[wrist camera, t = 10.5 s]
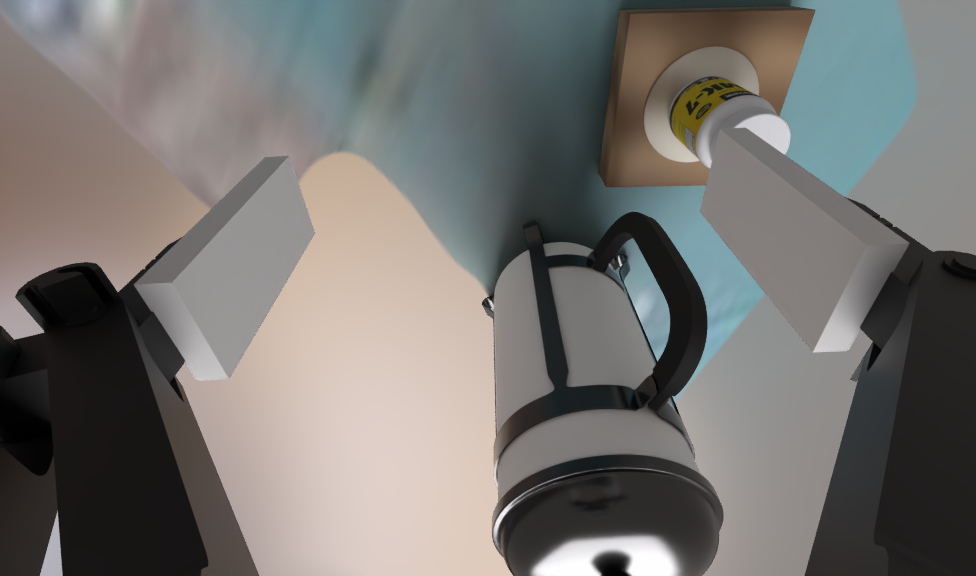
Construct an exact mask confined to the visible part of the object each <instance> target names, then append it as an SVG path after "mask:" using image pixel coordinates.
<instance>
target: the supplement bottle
mask: <svg viewBox="0 0 976 576" xmlns="http://www.w3.org/2000/svg"><path fill="white" fill-rule="evenodd" d="M668 121H669V126H670V129H671V131H672V133H673V134H674V136H675V137H676V138H677V139H678V140H679V141H680V142H681V143H682V144H683V145H684V146H685V147H686V148H687V149H688V150H689V151H690V152H691V153H692V154H694V155H695V156H696V157H697V158H698V159H699V160H700V161H701V162H702V163H703V164H704V165H705V166H707V167H708V168H710V167H711V163H712V159H713V155H714V151H715V147H716V142H717V138H718V134H719V130H720V129H729V128H745V127H746V128H747V129H749V130H750V131H751V132H753V133H754V134H756V135H757V136H758V137H760V138H761V139H763V140H764V141H766V142H767V143H768V144H770V145H771V146H773V147H774V148H775V149H777V150H778V151H780V152H781V153H783V154H784V155H785V154H786V152H787V150H788V147H789V144H790V129H789V126H788V124H787V123H786V121H785V120H784V119H783V118H782V117H780V116H779V115H777V114H776V111H775V110H774V108H773V106H772V105H771V104H770V103H769V102H768V101H767V100H765V99H764V98H762V97H760V96H758V95H756V94H754V93H752V92H750V91H748V90H746V89H744V88H742V87H740V86H738V85H736V84H735V83H733V82H731V81H729V80H727V79H725V78H722V77H719V76H703V77H700V78H697V79H695V80H693V81H691V82H690V83H688V84H687V85H686V86H685V87H683V88H682V89H681V90H680V91H679V92H678V94H677V95H676V96H675V98H674V100H673V101H672V104H671V106H670V109H669V115H668Z"/></svg>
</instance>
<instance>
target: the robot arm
mask: <svg viewBox="0 0 976 576" xmlns="http://www.w3.org/2000/svg"><path fill="white" fill-rule="evenodd" d="M700 212H701V214H702V215H703V216H704V217H705V219H706V220H707V221H708V222H709V224H710V225H711V226H712V227H713V229H714V230H715V231H716V232H717V234H718V235H719V236H720V237H721V239H722V240H723V241H724V242H725V244H726V245H727V246H728V247H729V249H730V250H731V251H732V252H733V254H734V255H735V256H736V257H737V259H738V260H739V261H740V262H741V264H742V265H743V266H744V267H745V269H746V270H747V271H748V272H749V274H750V275H751V276H752V277H753V279H754V280H755V281H756V282H757V284H758V285H759V286H760V287H761V289H762V290H763V291H764V292H765V294H766V295H767V296H768V297H769V299H770V300H771V301H772V302H773V304H774V305H775V306H776V307H777V308H778V310H779V311H780V312H781V314H782V315H783V316H784V317H785V319H786V320H787V321H788V322H789V324H790V325H791V326H792V327H793V328H794V330H795V331H796V332H797V333H798V335H799V336H800V337H801V338H802V340H803V341H804V342H805V343H806V345H807V346H808V347H809V348H810V350H811V351H812V352H832V351H848V350H849V349H850V347H851V345H852V343H853V341H854V340H855V338H856V336H857V335H858V333H859V331H860V329H861V330H862V331H863V332H864V333H865V334H866V335H867V336H868V337H869V338H870V339H871V340H872V341H873V343H872V344H871V346H870V348H869V349H868V351H867V352H866V354H865V356H864V357H863V359H862V361H861V362H860V364H859V366H858V367H857V369H856V371H855V372H854V374H853V375H852V377H851V379H850V380H853V381H857V380H858V382H857V386H856V389H855V393H854V397H853V401H852V404H851V408H850V411H849V415H848V419H847V422H846V426H845V430H844V434H843V437H842V441H841V444H840V448H839V452H838V455H837V459H836V463H835V466H834V470H833V474H832V477H831V481H830V485H829V489H828V492H827V496H826V500H825V503H824V507H823V511H822V514H821V518H820V522H819V525H818V529H817V532H816V537H815V540H814V543H813V547H812V551H811V555H810V558H809V562H808V565H807V569H806V573H805V576H976V256H975V255H972V254H968V253H962V252H956V251H935V252H932V251H931V250H929V249H928V248H926V247H925V246H923V245H922V244H920V243H919V242H917V241H916V240H915V239H913V238H912V237H910V236H909V235H907V234H906V233H904V232H903V231H901V230H900V229H899V228H897V227H893V225H892V224H891V223H890V222H888V221H887V220H886V219H884V218H880V215H878V214H877V213H875V212H874V211H872V210H871V209H869V208H868V207H867V206H865V205H863V204H861V203H858V202H856V201H853V200H851V199H849V198H846V197H844V196H842V195H841V194H839V193H838V192H836V191H835V190H834V189H832V188H831V187H829V186H828V185H827V184H825V183H824V182H822V181H821V180H819V179H818V178H817V177H815V176H814V175H812V174H811V173H810V172H808V171H807V170H805V169H804V168H802V167H801V166H800V165H798V164H797V163H795V162H794V161H793V160H791V159H790V158H788V157H787V156H785V155H784V154H783V153H781V152H780V151H778V150H777V149H775V148H774V147H773V146H771V145H770V144H768V143H767V142H766V141H764V140H763V139H761V138H760V137H758V136H757V135H756V134H754V133H753V132H751V131H750V130H749V129H747V128H746V127H745V128H729V129H720V130H719V134H718V138H717V142H716V147H715V151H714V155H713V159H712V163H711V167H710V172H709V176H708V180H707V184H706V188H705V192H704V197H703V201H702V205H701V209H700ZM314 234H315V232H314V229H313V226H312V223H311V220H310V217H309V214H308V211H307V208H306V205H305V202H304V199H303V196H302V193H301V190H300V186H299V183H298V180H297V177H296V174H295V171H294V168H293V165H292V162H291V159H290V156H279V157H265V158H264V159H263V160H262V161H261V162H260V163H259V164H258V165H257V166H256V167H255V168H254V169H253V170H252V171H250V172H249V173H248V174H247V175H246V176H245V177H244V178H243V179H242V180H241V181H240V182H239V183H238V184H237V185H236V186H235V187H234V188H233V189H232V190H231V191H230V192H229V193H228V194H227V195H226V196H225V197H224V198H223V199H222V200H221V201H219V202H218V203H217V204H216V205H215V206H214V207H213V208H212V209H211V210H210V211H209V212H208V213H207V214H206V215H205V216H204V217H203V218H202V219H201V220H200V221H199V222H198V223H197V224H196V225H195V226H194V227H193V228H192V229H191V230H190V231H188V232H187V233H186V234H185V235H184V236H183V237H181V238H180V239H178V240H176V241H175V242H173V243H171V244H169V245H168V246H167V247H166V248H165V249H164V250H162V251H161V252H160V253H159V254H158V255H157V256H156V257H155V258H156V259H154V260H152V261H151V262H150V263H149V264H148V265H147V266H146V267H145V269H143V270H141V271H140V272H139V273H138V274H137V275H136V276H135V277H134V278H133V279H132V280H131V281H130V282H129V283H128V284H127V285H126V286H125V287H123V288H122V289H121V290H120V291H119V292H117V291H116V289H115V288H114V286H113V285H112V283H111V282H110V280H109V279H108V278H107V276H106V275H105V273H104V272H103V270H102V269H101V268H100V267H99V266H98V265H97V264H95V263H88V262H84V263H75V264H70V265H67V266H63V267H59V268H56V269H54V270H51V271H49V272H46V273H44V274H41V275H39V276H38V277H36V278H34V279H32V280H31V281H29V282H27V284H25V285H24V286H23V287H21V288H20V289H19V290H18V292H17V294H16V296H15V297H16V299H17V300H18V301H19V302H20V303H21V305H23V307H24V308H25V309H26V310H27V312H28V313H29V314H30V315H31V316H32V317H33V318H34V320H35V321H36V322H37V323H38V324H39V325H40V326H41V328H42V329H43V330H44V333H41V334H37V335H33V336H29V337H25V338H21V339H16V340H14V339H13V338H12V337H11V336H10V335H9V334H8V333H7V332H6V330H5V329H4V328H3V327H2V326H0V576H40V573H41V568H42V565H43V562H44V558H45V554H46V550H47V547H48V543H49V539H50V536H51V532H52V528H53V525H54V521H55V518H56V514H57V510H58V518H59V532H60V545H61V558H62V571H63V576H259V574H258V572H257V569H256V567H255V564H254V562H253V559H252V557H251V554H250V552H249V549H248V547H247V545H246V542H245V540H244V537H243V535H242V532H241V530H240V527H239V525H238V522H237V520H236V517H235V515H234V512H233V510H232V507H231V505H230V502H229V500H228V497H227V495H226V493H225V490H224V488H223V486H222V483H221V480H220V478H219V475H218V473H217V470H216V468H215V465H214V463H213V461H212V458H211V456H210V453H209V451H208V448H207V446H206V443H205V441H204V438H203V436H202V433H201V431H200V428H199V426H198V423H197V421H196V419H195V416H194V414H193V411H192V409H191V406H190V404H189V401H188V399H187V397H186V394H185V391H184V389H183V386H182V385H181V384H180V382H179V381H178V379H177V378H176V376H175V375H176V373H177V372H178V371H179V369H180V368H181V367H182V365H183V364H184V362H185V364H186V365H187V367H188V369H189V370H190V371H191V373H192V375H193V376H194V378H195V379H196V381H199V380H220V379H221V380H222V379H229V378H230V377H231V375H232V373H233V371H234V370H235V368H236V366H237V365H238V363H239V361H240V359H241V358H242V356H243V355H244V353H245V351H246V349H247V348H248V346H249V344H250V343H251V341H252V339H253V337H254V336H255V334H256V333H257V331H258V329H259V327H260V326H261V324H262V322H263V320H264V319H265V317H266V316H267V314H268V312H269V310H270V309H271V307H272V305H273V304H274V302H275V300H276V298H277V297H278V295H279V294H280V292H281V290H282V288H283V287H284V285H285V283H286V282H287V280H288V278H289V277H290V275H291V273H292V271H293V270H294V268H295V266H296V265H297V263H298V261H299V259H300V258H301V256H302V254H303V253H304V251H305V249H306V248H307V246H308V244H309V242H310V241H311V239H312V238H313V236H314Z"/></svg>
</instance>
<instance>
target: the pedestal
mask: <svg viewBox="0 0 976 576" xmlns="http://www.w3.org/2000/svg"><path fill="white" fill-rule="evenodd" d="M814 13H815V10H813V9H806V8H800V7H794V6H769V7H723V8H677V9H630V10H619V17H618V25H617V33H616V41H615V49H614V57H613V64H612V72H611V80H610V88H609V96H608V103H607V111H606V119H605V127H604V135H603V142H602V150H601V158H600V166H599V175H600V177H601V178H602V180H603V182H604V184H605V186H606V187H638V186H691V185H706V184H707V180H708V176H709V172H710V168H708V167H707V166H705V165H704V164H703V163H702V162H701V161H700V160H699V159H698V158H697V157H696V156H695V155H694V154H692V153H691V152H690V151H689V150H688V149H687V148H686V147H685V146H684V145H683V144H682V143H681V142H680V141H679V140H678V139H677V138H676V137H675V136H674V134H673V133H672V131H671V129H670V126H669V121H668V115H669V109H670V106H671V104H672V101H673V100H674V98H675V96H676V95H677V94H678V92H679V91H680V90H681V89H682V88H683V87H685V86H686V85H687V84H688V83H690V82H691V81H693V80H695V79H697V78H700V77H703V76H719V77H722V78H725V79H727V80H729V81H731V82H733V83H735V84H736V85H738V86H740V87H742V88H744V89H746V90H748V91H750V92H752V93H754V94H756V95H758V96H760V97H762V98H764V99H765V100H767V101H768V102H769V103H770V104H771V105H772V106H773V108H774V110H775V111H776V114H777V115H780V112H781V109H782V106H783V103H784V101H785V98H786V95H787V92H788V89H789V86H790V83H791V80H792V77H793V74H794V71H795V68H796V65H797V63H798V60H799V57H800V54H801V51H802V48H803V45H804V42H805V39H806V36H807V33H808V30H809V27H810V25H811V22H812V19H813V16H814Z"/></svg>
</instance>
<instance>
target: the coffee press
mask: <svg viewBox="0 0 976 576" xmlns="http://www.w3.org/2000/svg"><path fill="white" fill-rule="evenodd" d="M523 230H524V233H525V237H526V240H527V244H528V248H529V250H527V251H525V252H523V253H522V254H520V255H519V256H517V257H516V258H515V259H513V260H512V261H511V262H510V263H509V264H508V265H507V267H506V268H505V269H504V270H503V272H502V273H501V275H500V277H499V279H498V281H497V284H496V287H495V293H494V296H490V297H487V298H486V299H484V300H483V302H482V305H483V307H484V309H485V311H486V313H487V315H488V316H490V317H492V318H493V323H494V364H495V365H494V367H495V409H496V411H495V413H496V439H495V443H494V479H495V483H496V486H497V488H498V503H497V506H496V508H495V510H494V513H493V517H492V538H493V542H494V545H495V547H496V549H497V550H498V552H499V553H500V554H501V556H502V557H503V558H504V559H505V562H506V564H507V566H508V568H509V570H510V572H511V573H512V574H513V576H702V575H703V574H704V573H705V572H706V571H707V569H708V568H709V567H710V565H711V564H712V562H713V560H714V558H715V555H716V553H717V549H718V544H719V531H720V529H721V526H722V523H723V508H722V505H721V503H720V500H719V498H718V496H717V493H716V491H715V489H714V488H713V486H712V485H711V484H710V482H709V481H708V480H707V479H706V478H705V477H704V476H703V475H702V474H700V472H699V469H698V467H697V465H696V462H695V452H694V448H693V445H692V443H691V440H690V438H689V436H688V433H687V431H686V428H685V426H684V424H683V422H682V419H681V417H680V415H679V412H678V409H677V407H676V404H675V402H674V400H673V397H672V396H676V395H677V394H678V393H679V392H680V391H681V390H682V389H683V388H684V386H685V385H686V384H687V382H688V381H689V380H690V378H691V377H692V375H693V373H694V371H695V370H696V368H697V366H698V364H699V362H700V359H701V357H702V354H703V351H704V347H705V343H706V337H707V311H706V305H705V301H704V297H703V295H702V292H701V289H700V287H699V285H698V283H697V281H696V280H695V278H694V276H693V274H692V273H691V271H690V269H689V268H688V266H687V264H686V263H685V261H684V260H683V258H682V257H681V255H680V253H679V252H678V250H677V249H676V247H675V246H674V244H673V243H672V241H671V240H670V238H669V237H668V235H667V234H666V232H665V231H664V230H663V228H662V227H661V226H660V225H659V223H658V222H656V221H655V220H654V219H653V218H651V217H648V216H646V215H644V214H641V213H639V212H630V213H627V214H625V215H623V216H622V217H620V218H619V219H618V220H617V221H616V222H615V223H614V224H613V225H612V226H611V227H610V228H609V230H608V231H607V232H606V233H605V235H604V236H603V238H602V239H601V240H600V242H599V243H598V245H597V246H596V248H595V249H594V250H592V249H590V248H588V247H585V246H582V245H579V244H575V243H568V242H555V243H547V244H545V243H544V240H543V237H542V234H541V231H540V228H539V225H538V222H537V221H534V222H531V223H528V224H525V225H523ZM631 238H634V240H635V241H636V243H637V245H638V247H639V249H640V251H641V252H642V254H643V256H644V258H645V260H646V262H647V264H648V266H649V267H650V269H651V271H652V273H653V275H654V277H655V279H656V281H657V283H658V285H659V286H660V288H661V290H662V292H663V294H664V296H665V299H666V301H667V304H668V307H669V311H670V333H669V338H668V342H667V345H666V347H665V350H664V352H663V354H662V355H661V357H660V359H659V360H658V362H657V360H656V357H655V355H654V353H653V350H652V348H651V346H650V343H649V341H648V339H647V336H646V334H645V331H644V329H643V327H642V324H641V322H640V320H639V317H638V315H637V313H636V310H635V308H634V306H633V303H632V301H631V298H630V296H629V294H628V291H627V289H626V287H625V284H624V279H625V277H626V276H627V274H628V273H629V271H630V266H629V262H628V258H627V256H626V255H616V253H617V252H618V251H619V249H620V248H621V247H622V246H623V244H624V243H625V242H626V241H628V240H629V239H631ZM615 255H616V256H615ZM620 266H621V268H620V270H619V275H620V278H621V279H620V278H619V277H618V275H617V274H616V272H615V270H616V269H617V268H618V267H620ZM624 291H625V292H624ZM625 294H626V295H625ZM626 296H627V297H626ZM628 301H629V302H628ZM492 307H494V312H493V311H492V310H491V308H492ZM633 313H634V314H633Z"/></svg>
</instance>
